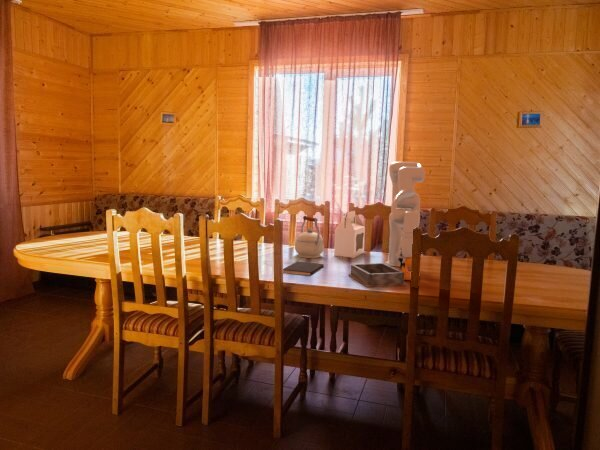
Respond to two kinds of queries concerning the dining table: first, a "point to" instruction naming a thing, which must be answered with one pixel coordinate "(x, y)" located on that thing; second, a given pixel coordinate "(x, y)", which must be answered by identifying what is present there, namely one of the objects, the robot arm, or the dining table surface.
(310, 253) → the kettle
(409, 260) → the bracket
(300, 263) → the hardcover book
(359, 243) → the gable box
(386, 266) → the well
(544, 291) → the dining table surface
